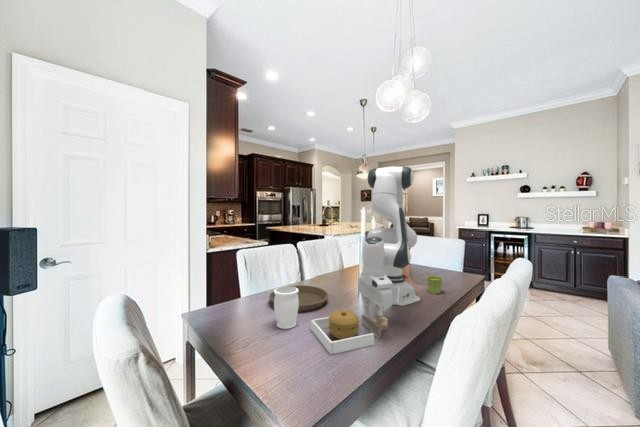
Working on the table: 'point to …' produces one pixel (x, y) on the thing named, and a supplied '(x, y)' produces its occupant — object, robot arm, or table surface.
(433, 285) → the plant pot
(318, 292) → the plant saucer
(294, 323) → the jar
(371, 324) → the scraper
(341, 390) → the table surface
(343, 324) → the pot
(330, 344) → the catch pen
